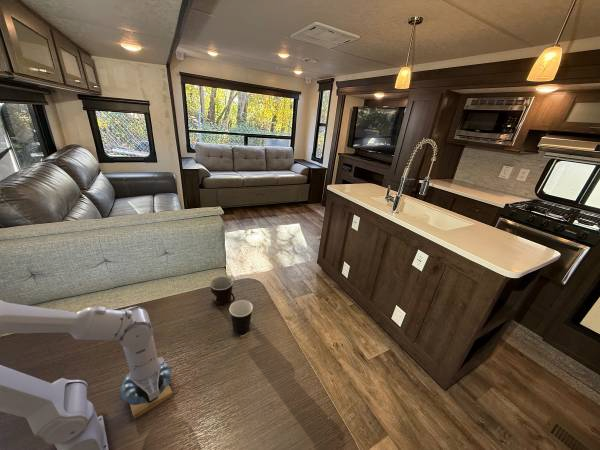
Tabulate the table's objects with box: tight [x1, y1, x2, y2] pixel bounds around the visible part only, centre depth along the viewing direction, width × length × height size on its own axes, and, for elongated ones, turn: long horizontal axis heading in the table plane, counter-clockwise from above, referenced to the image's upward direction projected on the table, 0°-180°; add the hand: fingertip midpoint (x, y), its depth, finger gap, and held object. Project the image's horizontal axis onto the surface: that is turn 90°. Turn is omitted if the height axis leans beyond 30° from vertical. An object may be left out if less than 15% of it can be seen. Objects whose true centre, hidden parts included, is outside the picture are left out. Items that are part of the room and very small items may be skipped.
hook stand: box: [129, 383, 173, 420], centre depth 66 cm, size 9×9×6 cm
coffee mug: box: [209, 275, 236, 307], centre depth 97 cm, size 12×9×10 cm
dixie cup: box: [228, 299, 254, 338], centre depth 86 cm, size 8×8×11 cm
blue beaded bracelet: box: [119, 361, 172, 405], centre depth 65 cm, size 11×11×3 cm
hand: (151, 393), depth 62 cm, fingers closed on blue beaded bracelet, 3 cm apart
